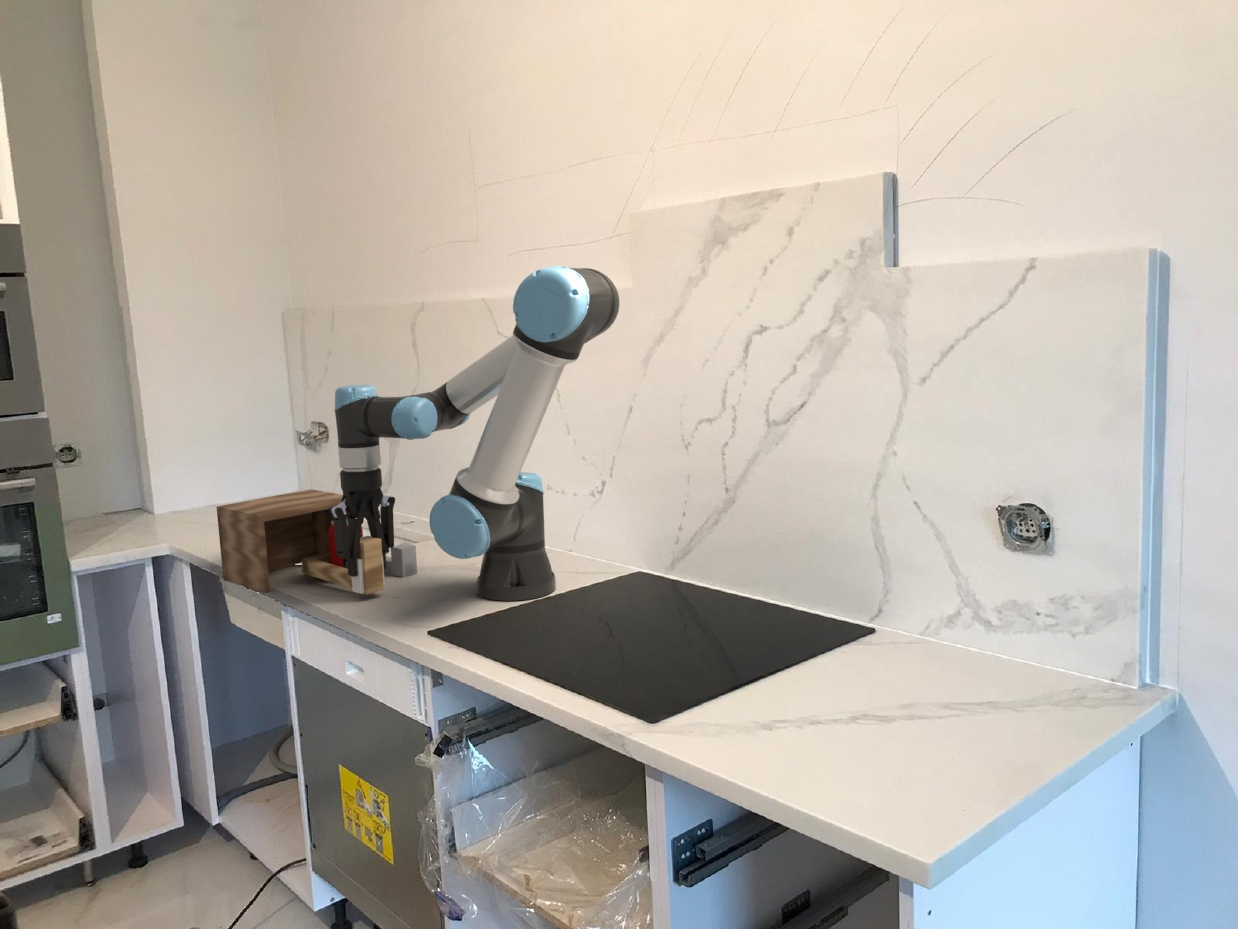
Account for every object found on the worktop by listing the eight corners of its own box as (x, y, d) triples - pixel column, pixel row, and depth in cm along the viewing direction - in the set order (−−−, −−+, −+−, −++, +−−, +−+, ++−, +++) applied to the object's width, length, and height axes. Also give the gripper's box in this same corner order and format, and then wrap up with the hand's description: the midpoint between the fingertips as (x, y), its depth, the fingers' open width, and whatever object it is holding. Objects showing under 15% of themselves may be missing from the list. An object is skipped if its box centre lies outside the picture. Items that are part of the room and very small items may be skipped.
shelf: (359, 568, 212) (354, 496, 210) (265, 592, 196) (258, 515, 193) (316, 557, 223) (310, 489, 220) (223, 580, 206) (216, 506, 203)
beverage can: (357, 583, 200) (352, 525, 198) (325, 582, 202) (321, 524, 200) (371, 574, 207) (367, 517, 205) (341, 573, 208) (336, 517, 206)
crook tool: (407, 582, 195) (405, 533, 193) (366, 594, 188) (363, 543, 186) (340, 563, 209) (337, 516, 207) (299, 574, 201) (296, 525, 200)
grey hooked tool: (417, 573, 207) (415, 545, 206) (403, 577, 204) (401, 549, 203) (376, 564, 216) (374, 536, 215) (362, 567, 213) (360, 540, 212)
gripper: (385, 460, 195) (392, 576, 199) (309, 473, 183) (318, 596, 186) (409, 463, 191) (416, 581, 194) (333, 476, 178) (342, 603, 182)
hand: (368, 588), depth 190 cm, fingers closed on crook tool, 4 cm apart
